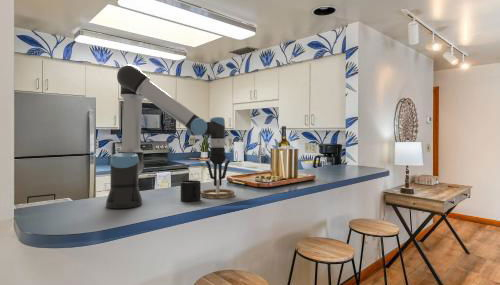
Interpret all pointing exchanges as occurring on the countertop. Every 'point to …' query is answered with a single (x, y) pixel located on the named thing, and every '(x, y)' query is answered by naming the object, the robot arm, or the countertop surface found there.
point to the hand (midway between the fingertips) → (217, 192)
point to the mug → (190, 191)
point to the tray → (213, 195)
